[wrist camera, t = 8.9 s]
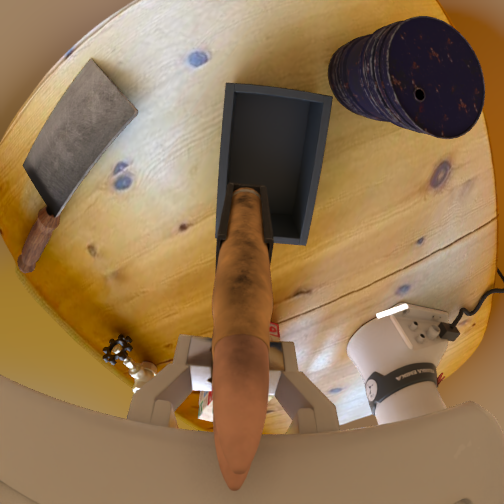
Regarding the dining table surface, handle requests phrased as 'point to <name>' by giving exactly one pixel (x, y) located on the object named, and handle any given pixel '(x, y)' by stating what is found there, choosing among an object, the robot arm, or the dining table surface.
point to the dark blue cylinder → (411, 77)
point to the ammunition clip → (241, 328)
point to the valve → (129, 361)
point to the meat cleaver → (72, 149)
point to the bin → (275, 152)
